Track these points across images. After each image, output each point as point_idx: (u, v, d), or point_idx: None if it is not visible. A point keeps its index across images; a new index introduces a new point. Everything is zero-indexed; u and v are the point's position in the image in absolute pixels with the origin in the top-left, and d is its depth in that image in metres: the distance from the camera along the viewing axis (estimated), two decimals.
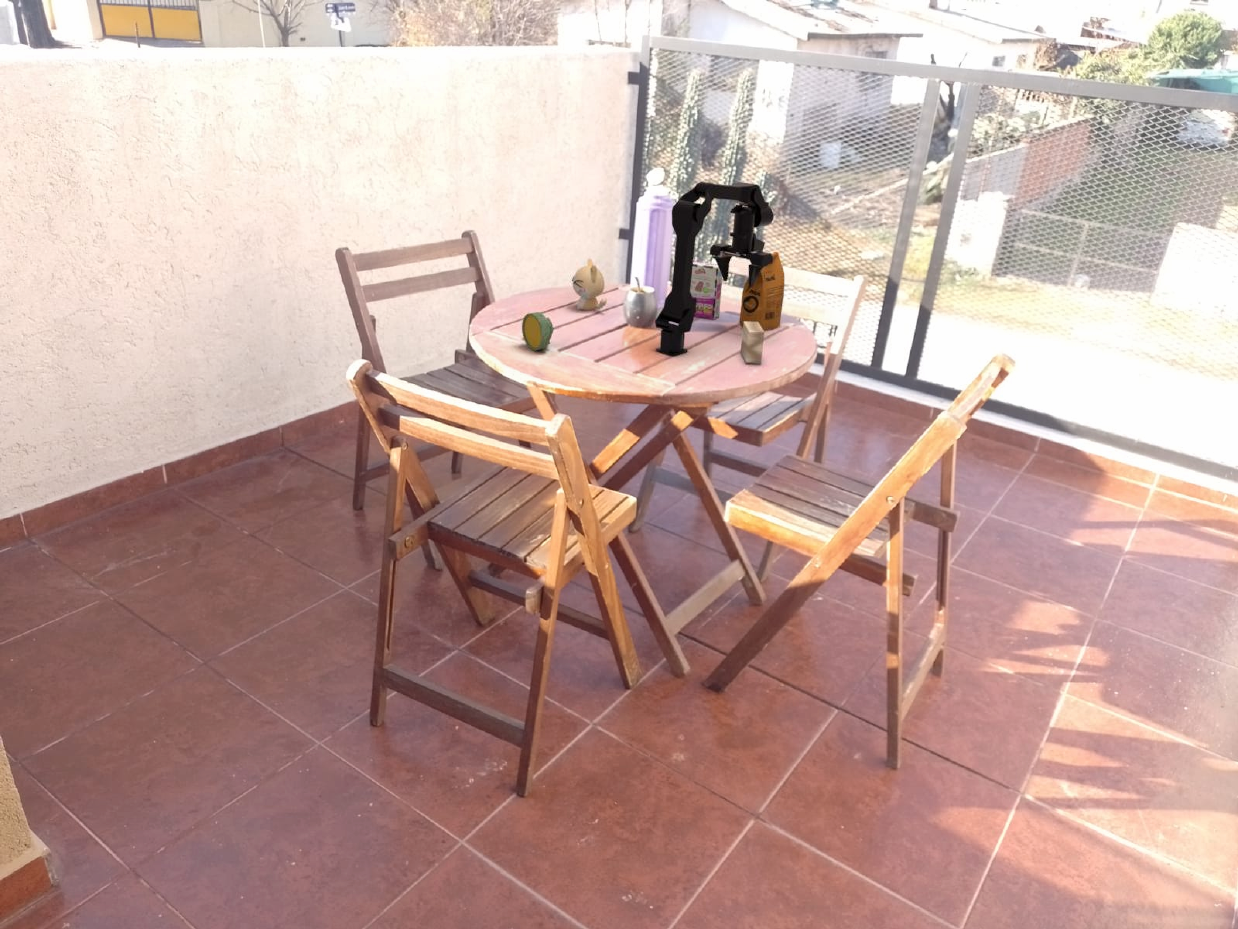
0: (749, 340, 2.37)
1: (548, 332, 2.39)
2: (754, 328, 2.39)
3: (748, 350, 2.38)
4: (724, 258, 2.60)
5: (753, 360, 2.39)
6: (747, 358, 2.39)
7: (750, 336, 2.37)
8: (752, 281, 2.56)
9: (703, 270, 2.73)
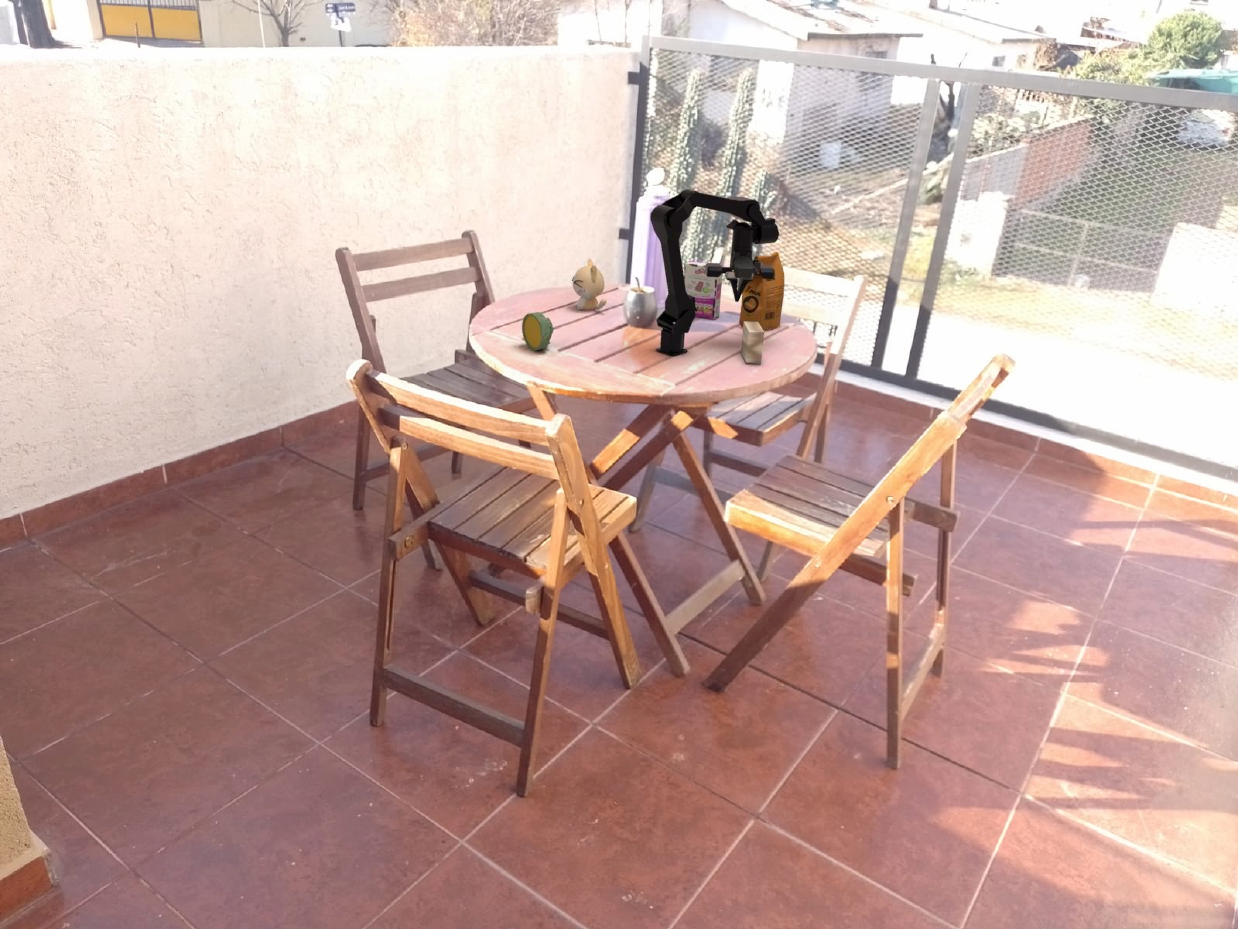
0: (749, 340, 2.37)
1: (548, 332, 2.39)
2: (754, 328, 2.39)
3: (748, 350, 2.38)
4: (740, 277, 2.50)
5: (753, 360, 2.39)
6: (747, 358, 2.39)
7: (750, 336, 2.37)
8: None
9: (703, 270, 2.73)
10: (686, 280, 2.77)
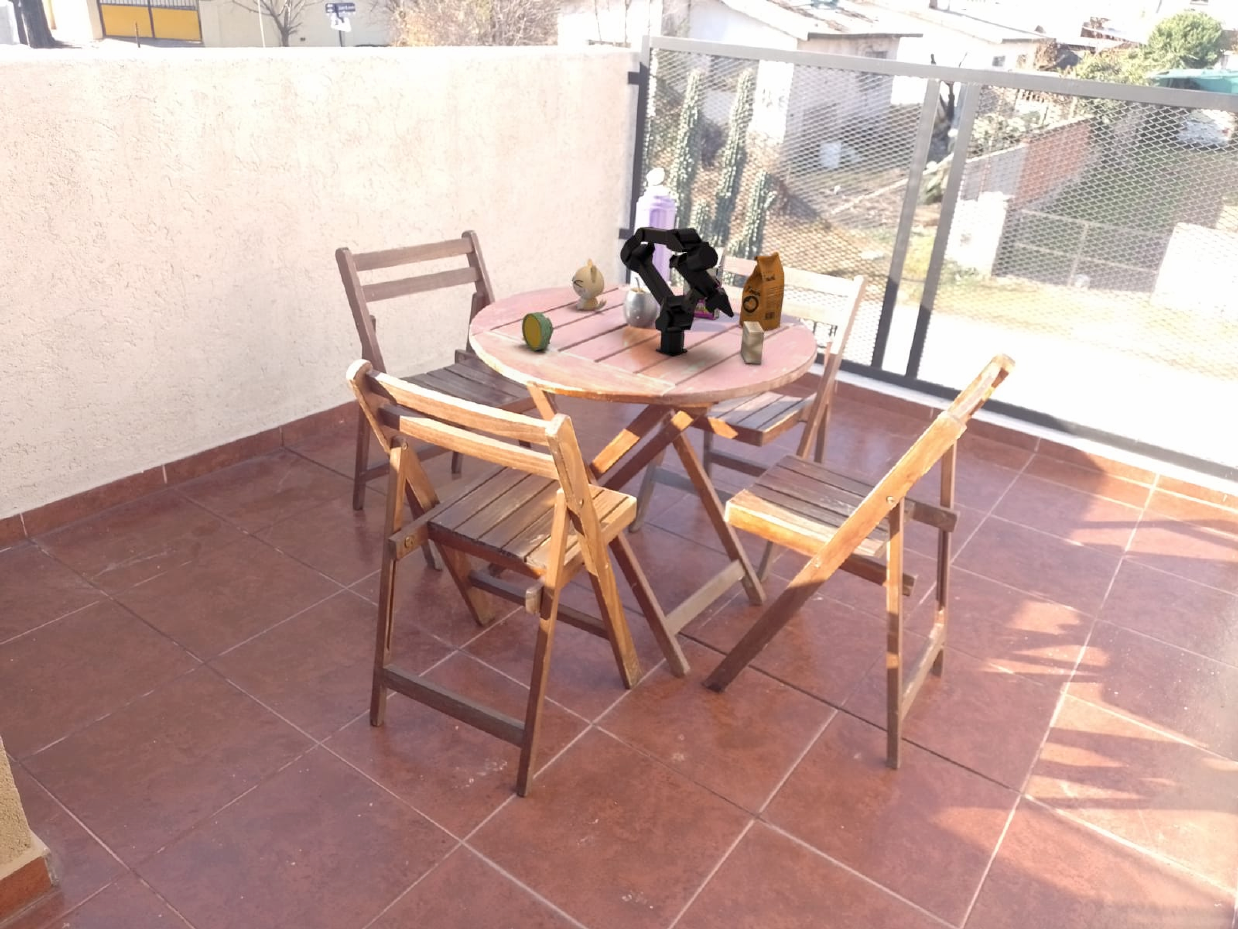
0: (749, 340, 2.37)
1: (548, 332, 2.39)
2: (754, 328, 2.39)
3: (748, 350, 2.38)
4: None
5: (753, 360, 2.39)
6: (747, 358, 2.39)
7: (750, 336, 2.37)
8: None
9: None
10: None
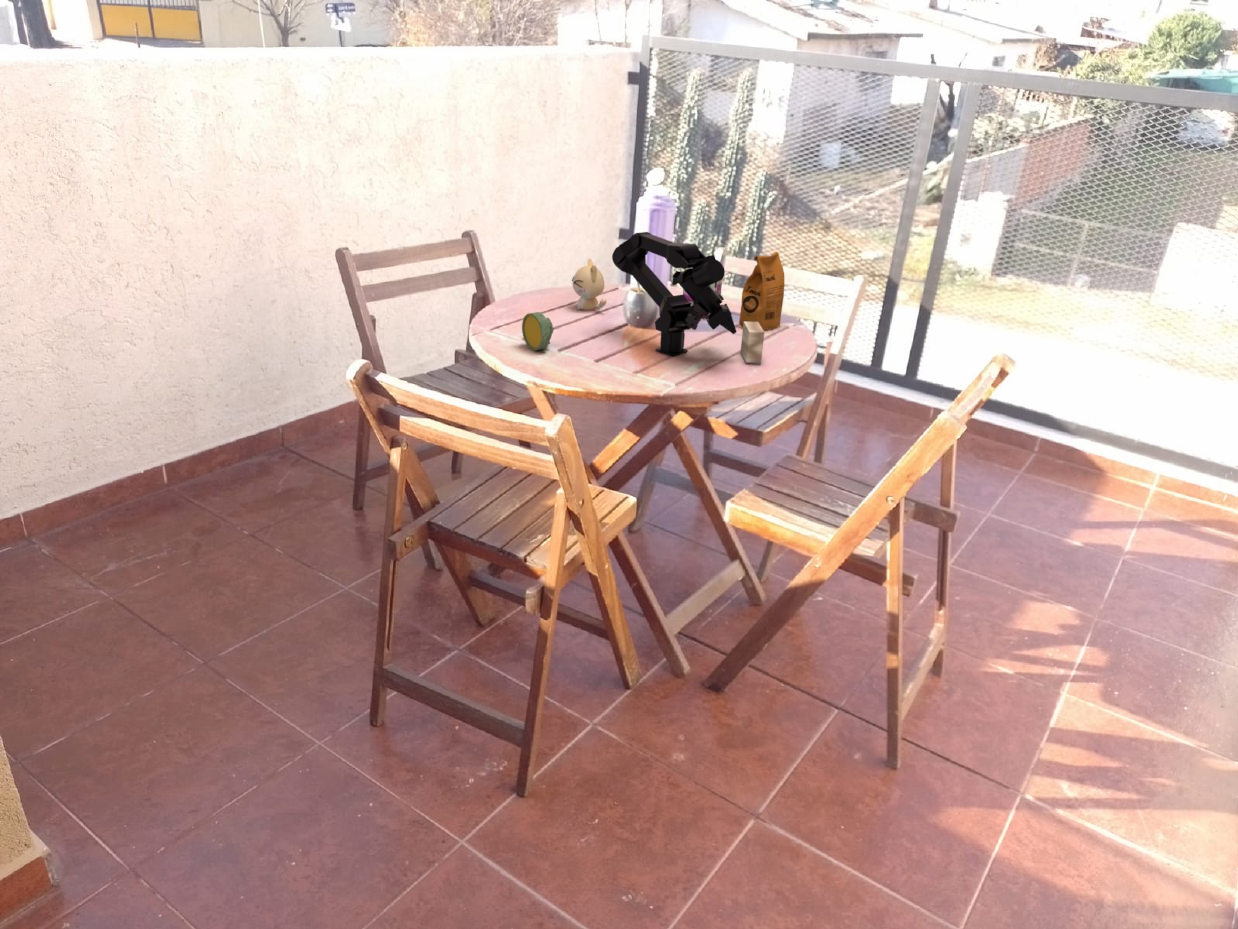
0: (749, 340, 2.37)
1: (548, 332, 2.39)
2: (754, 328, 2.39)
3: (748, 350, 2.38)
4: None
5: (753, 360, 2.39)
6: (747, 358, 2.39)
7: (750, 336, 2.37)
8: None
9: None
10: None
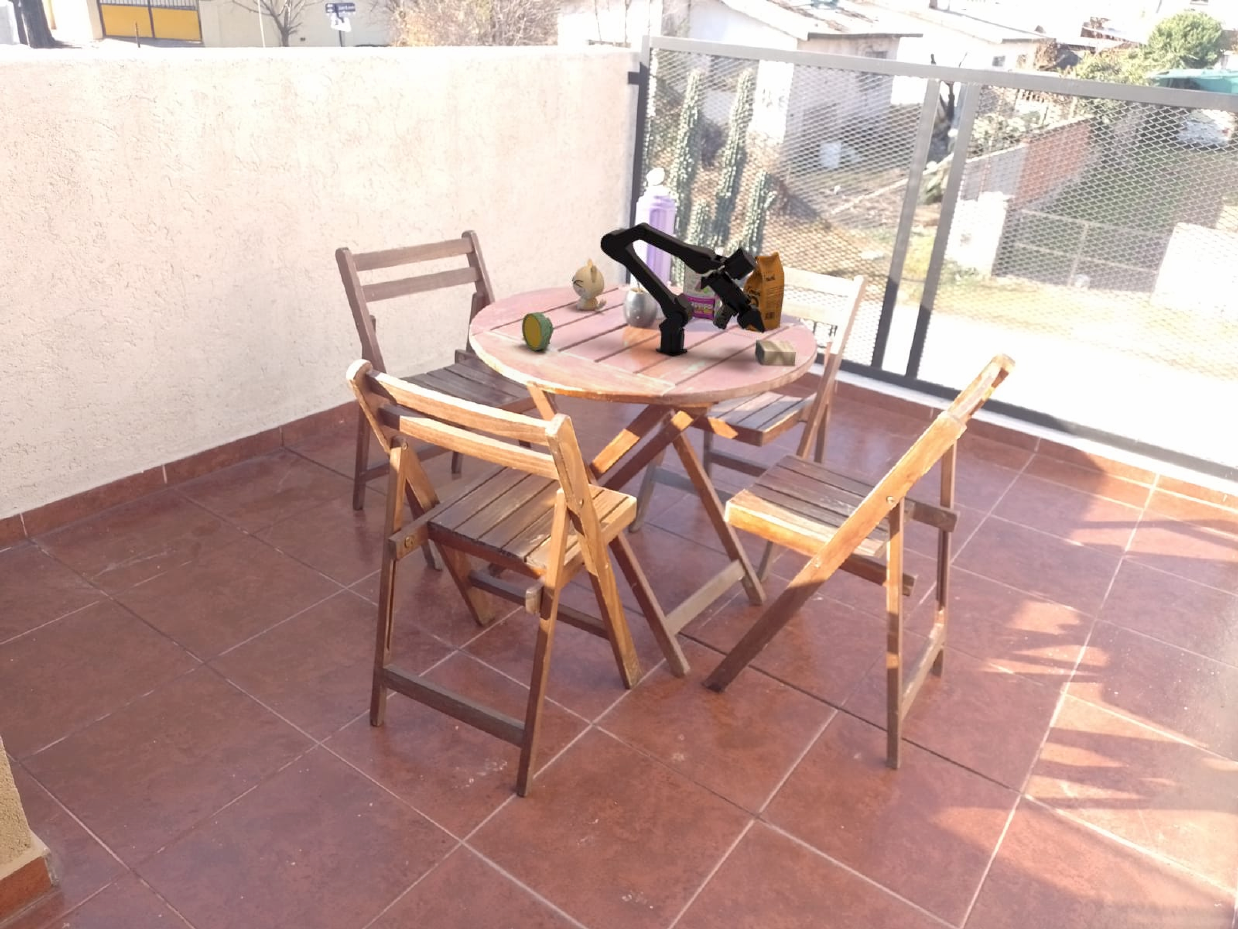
0: (787, 352, 2.39)
1: (548, 332, 2.39)
2: None
3: (777, 352, 2.39)
4: None
5: (766, 358, 2.39)
6: (768, 352, 2.39)
7: (791, 353, 2.39)
8: None
9: None
10: (686, 280, 2.77)
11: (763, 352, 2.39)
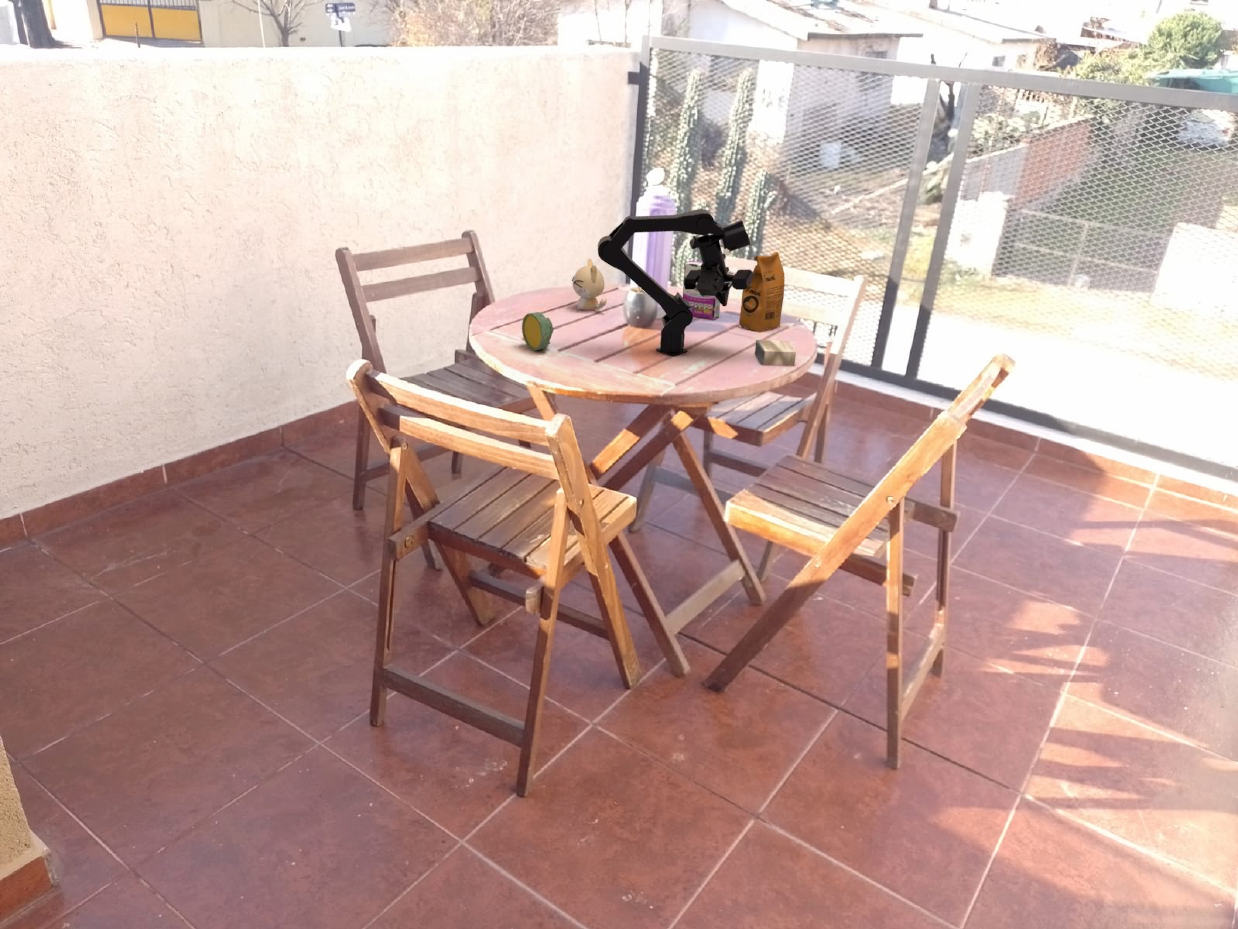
0: (787, 352, 2.39)
1: (548, 332, 2.39)
2: None
3: (777, 352, 2.39)
4: None
5: (766, 358, 2.39)
6: (768, 352, 2.39)
7: (791, 353, 2.39)
8: None
9: None
10: None
11: (763, 352, 2.39)
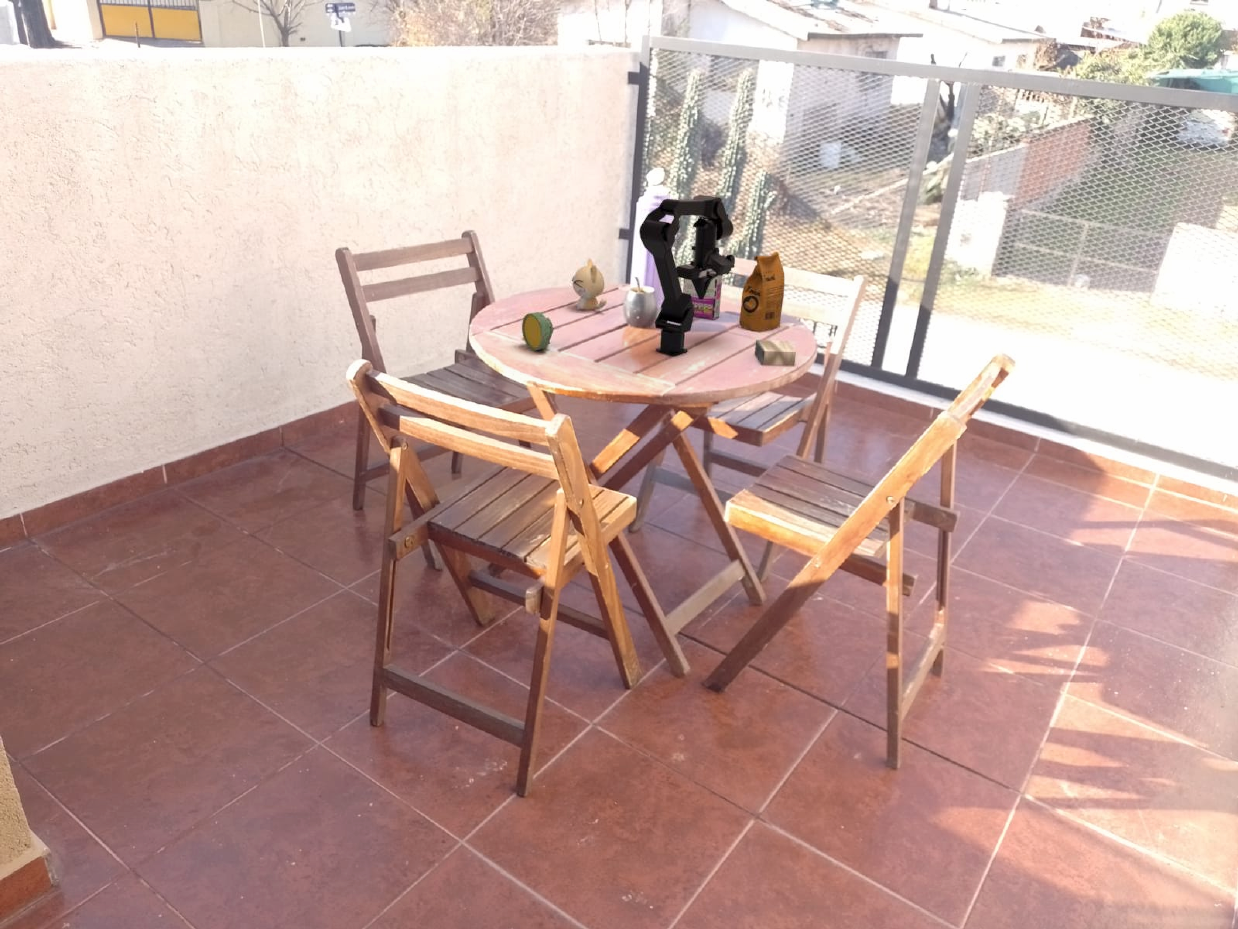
0: (787, 352, 2.39)
1: (548, 332, 2.39)
2: None
3: (777, 352, 2.39)
4: None
5: (766, 358, 2.39)
6: (768, 352, 2.39)
7: (791, 353, 2.39)
8: (697, 292, 2.52)
9: None
10: (686, 280, 2.77)
11: (763, 352, 2.39)
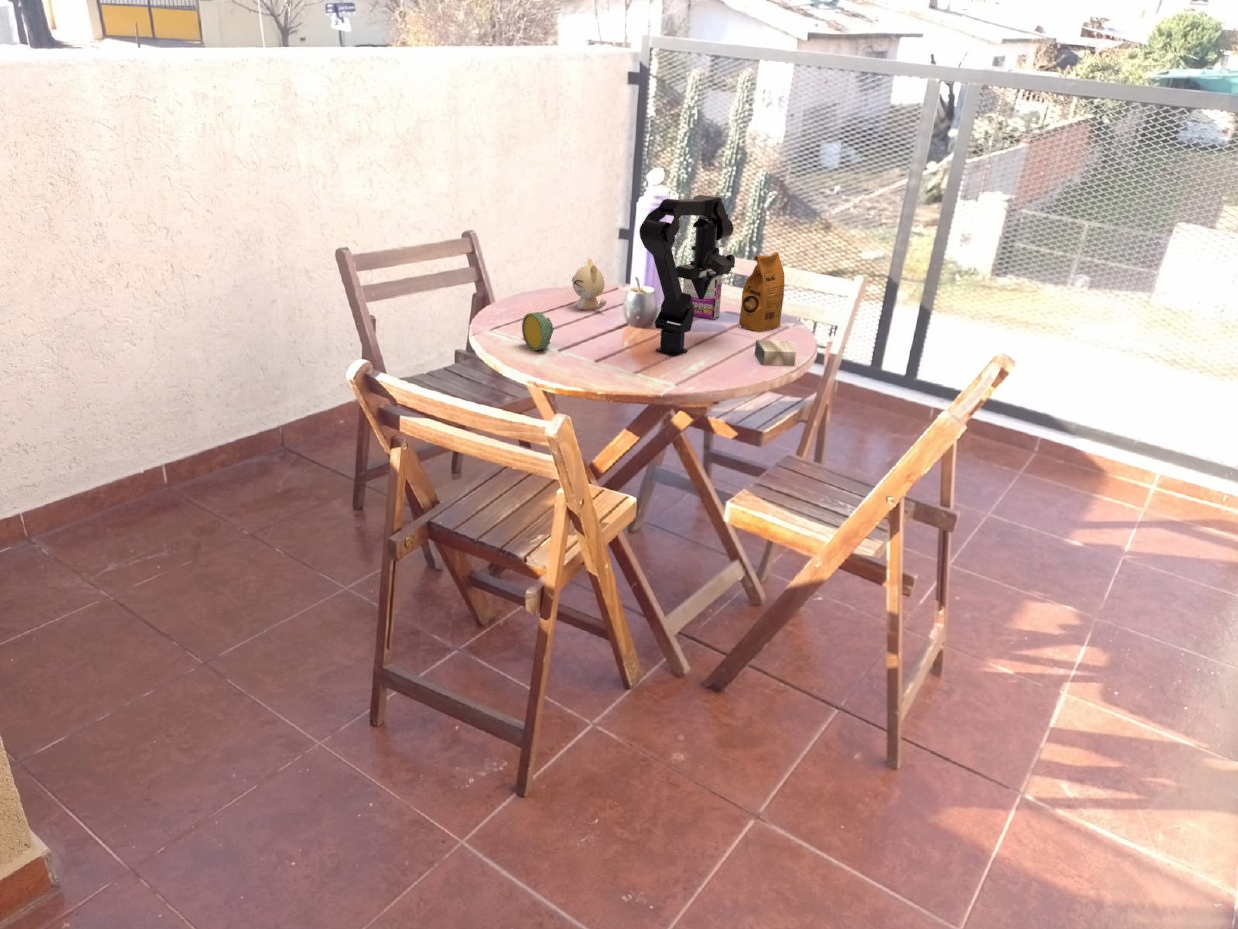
0: (787, 352, 2.39)
1: (548, 332, 2.39)
2: None
3: (777, 352, 2.39)
4: None
5: (766, 358, 2.39)
6: (768, 352, 2.39)
7: (791, 353, 2.39)
8: (697, 292, 2.52)
9: None
10: (686, 280, 2.77)
11: (763, 352, 2.39)
